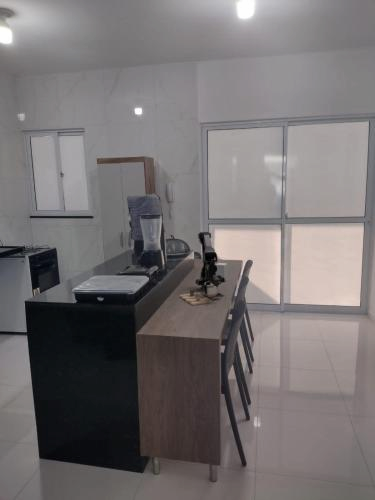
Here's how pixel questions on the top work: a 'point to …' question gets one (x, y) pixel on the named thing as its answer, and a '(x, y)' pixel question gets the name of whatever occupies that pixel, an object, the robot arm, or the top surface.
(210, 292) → the sleeve
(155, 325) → the top surface
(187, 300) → the pin board
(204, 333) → the top surface
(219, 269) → the supplement box
